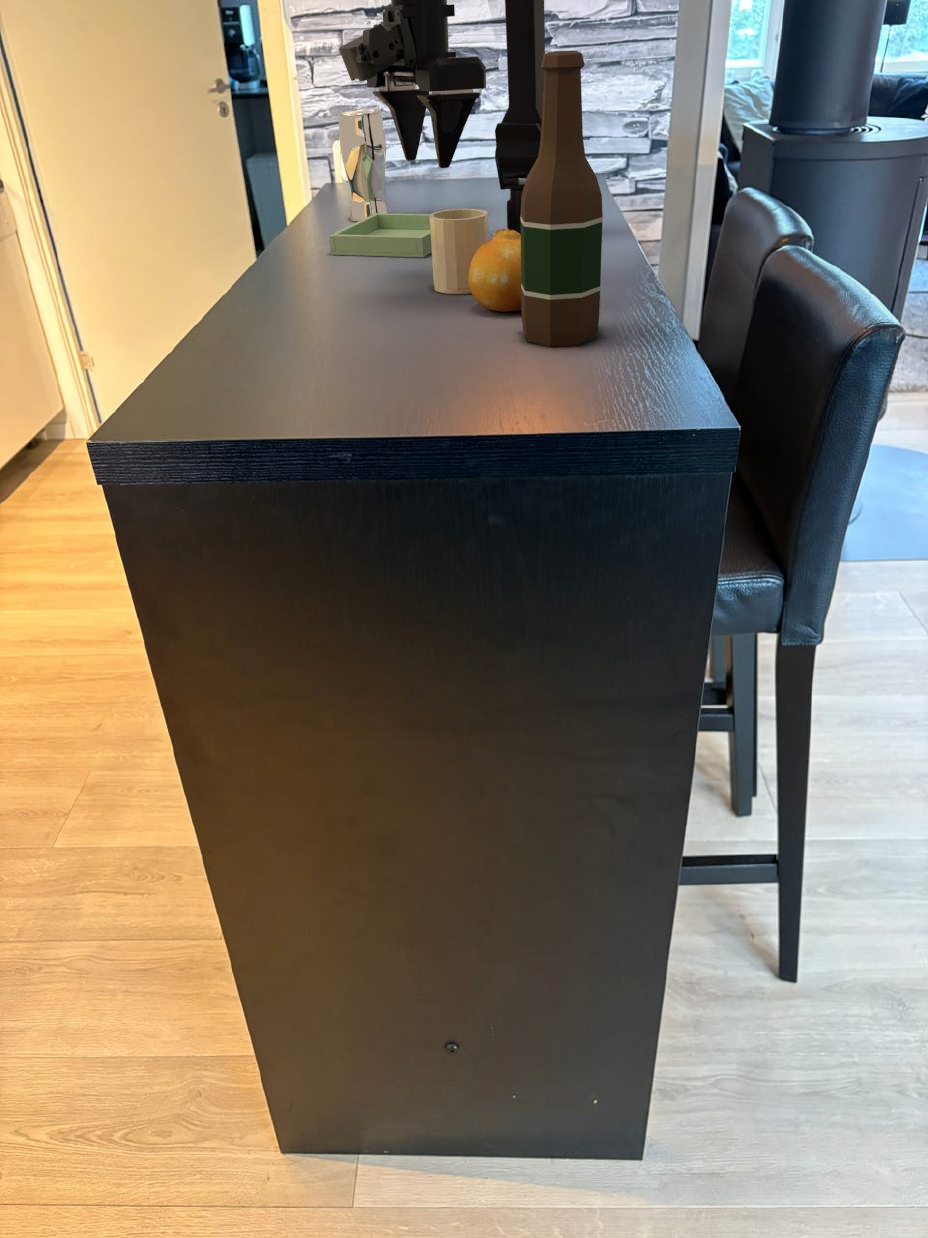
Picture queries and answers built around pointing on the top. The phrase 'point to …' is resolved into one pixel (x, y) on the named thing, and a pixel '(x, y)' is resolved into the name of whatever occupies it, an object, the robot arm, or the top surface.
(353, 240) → the tray
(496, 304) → the fruit
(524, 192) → the beer bottle
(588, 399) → the top surface
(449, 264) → the cup
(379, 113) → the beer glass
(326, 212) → the top surface
